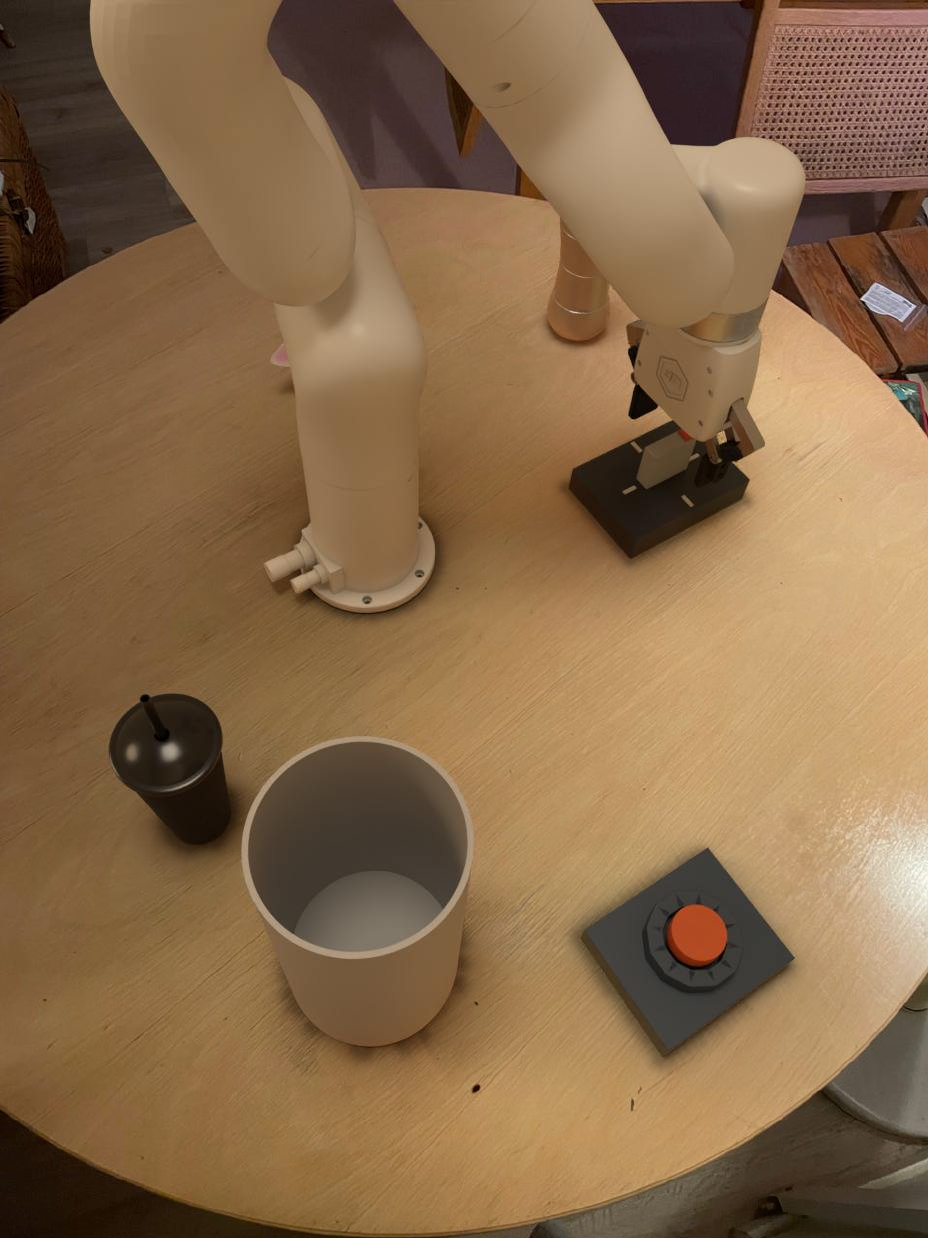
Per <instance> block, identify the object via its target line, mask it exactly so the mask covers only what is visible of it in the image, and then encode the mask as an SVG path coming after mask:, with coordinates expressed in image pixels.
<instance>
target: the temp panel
mask: <svg viewBox="0 0 928 1238" xmlns="http://www.w3.org/2000/svg"><path fill="white" fill-rule="evenodd" d="M681 429H682V428H681V427H679V426H678V425H677V424H676V423H675V422H674V421H673V420H672V419H671V420H670V421H667V422H665V423H663V424H661V425H659V426H656V427H655V428H653V429H651V430H649V431H647V432H645V433H643V434H640V435H638V436H637V437H635V438H633V439H630V440H628V441H626V442H624V443H623V444H620V445H618V446H617V447H614V448H612V449H610V450H608V451H605V452H604V453H602V454H600V455H598V456H596V457H593V458H592V459H590V460H588V461H586V462H584V463H582V464H580V465H577V466H575V467H573V468H572V470H571V474H570V480H569V485H568V490H569V491H570V492H571V493H572V494H573V496H575V498H576V499H577V500H578V501H579V502H580V503H581V505H582V506H583V507H584V508H585V509H586V511H587V512H588V513H589V514H590V515H591V516H592V517H593V518H594V519H595V521H596V522H597V523H598V524H599V525H600V526H601V527H602V528H603V530H604V531H605V532H606V533H607V535H609V537H610V538H611V539H613V541H614V542H615V543H616V545H618V547H619V549H621V550H622V552H624V554H625V555H626V556H627V557H628V558H629V559H630V560H631V559H633V558H635V557H637V556H639V555H641V554H643V553H644V552H646V551H648V550H650V549H652V548H654V547H656V546H658V545H659V544H661V543H664V542H665V541H667V540H669V539H671V538H672V537H674V536H676V535H678V534H680V533H682V532H683V531H685V530H687V529H690V528H691V527H693V526H694V525H697V524H698V523H700V522H702V521H704V520H706V519H708V518H710V517H712V516H713V515H715V514H718V513H719V512H720V511H722V510H725V509H726V508H728V507H730V506H733V505H734V504H736V503H738V502H740V501H741V500H742V499H743V498H744V495H745V493H746V490H747V488H748V486H749V483H750V481H751V479H750V478H749V477H748V476H747V475H746V474H745V473H744V472H743V471H742V470H741V469H740V468H739V467H738V466H737V465H736V464H735V463H734V462H730V464H729V467H728V470H727V473H726V475H725V476H724V478H723V479H721V480H720V481H718V482H716V483H714V484H713V483H712V482H710V483H709V484H707V485H705V486H703V487H701V488H697V487H696V486H695V484H694V483H695V482H694V480H695V477H696V474H697V471H698V468H699V465H700V461H701V458H702V456H703V455H705V454H707V453H708V452H707V448H706V444H705V441H704V442H701V441H698V440H696V443H695V446H694V448H693V451H692V454H691V457H690V460H689V463H688V466H687V469H685V470H683V471H681V472H680V473H678V474H676V475H674V476H672V477H670V478H668V479H666V480H664V481H662V482H660V483H658V484H656V485H654V486H652V487H650V488H648V489H645V488H644V486H643V485H642V484H641V483H640V482H639V481H638V480H637V479H636V478H637V474H638V471H639V467H640V464H641V460H642V456H643V453H644V449H645V447H647V446H649V445H651V444H653V443H655V442H657V441H659V440H661V439H663V438H665V437H667V436H669V435H671V434H673V433H675V432H677V431H679V430H681Z"/></svg>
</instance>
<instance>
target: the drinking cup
mask: <svg viewBox="0 0 928 1238" xmlns="http://www.w3.org/2000/svg"><path fill="white" fill-rule="evenodd" d="M223 744H224V734H223V728H222V726H221V722H220V720H219V718H218V716H217V714H216V713H215V712H214V711H213V709H212V708H211V707H210V706H209V705H208V704H207V703H205V702H203V701H202V700H200V699H199V698H196V697H194V696H190V695H188V694H184V693H177V692H176V693H174V692H172V693H161V694H157V695H153V696H150V695H149V694H147V693H144V694H141V695H140V696H139V702H137V703H136V704H135V705H133V706H132V707H130V708H129V709H128V710H126V712H125V713H124V714H123V715H122V716H121V718H119V720H118V721H117V723H116V724H115V726H114V728H113V731H112V732H111V735H110V739H109V743H108V759H109V763H110V767H111V768H112V771H113V773H114V774H115V776H116V778H117V779H118V780H119V782H121V783H122V785H124V786H125V787H127V788H129V789H130V790H132V791H133V792H135V793H136V794H137V795H138V796H139V797H140V799H141V800H142V801H143V802H144V803H145V804H146V805H147V806H148V807H149V808H150V809H151V810H152V812H153V813H154V814H155V815H156V816H157V817H158V818H159V819H160V820H161V822H162V823H163V824H164V825H165V826H166V827H167V829H169V830H170V832H171V833H172V834H173V835H174V836H175V837H176V838H177V839H178V840H180V841H181V842H183V843H185V844H189V845H204V844H208V843H211V842H212V841H214V840H216V839H217V838H218V837H220V836H222V834H223V833H224V832H225V830H226V829H227V827H228V825H229V823H230V820H231V815H232V810H231V804H230V797H229V789H228V784H227V778H226V777H227V776H226V772H225V765H224V758H223Z"/></svg>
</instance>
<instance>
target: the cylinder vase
mask: <svg viewBox="0 0 928 1238" xmlns="http://www.w3.org/2000/svg"><path fill="white" fill-rule="evenodd" d="M473 825H474V824H473V820H472V815H471V812H470V809H469V807H468V804H467V802H466V800H465V798H464V795H463V794H462V791H461V790H460V788H459V787H458V785H457V783H456V782H455V781H454V779H453V778H452V777H451V776H450V774H449V773H448V772H447V771H446V769H444V768H443V767H442V766H441V765H440V764H439V763H437V762H436V760H434V759H433V758H431V756H429V755H427V754H425V753H424V752H423V751H421V750H419V749H417V748H415V747H413V746H411V745H408V744H406V743H403V742H401V741H397V740H394V739H391V738H385V737H379V736H370V735H355V736H345V737H339V738H334V739H330V740H327V741H324V742H321V743H317V744H316V745H313V746H311V747H308V748H306V749H304V750H303V751H301V752H299V753H297V754H296V755H294V756H293V757H291V758H290V759H289V760H287V761H286V762H284V763H283V765H281V766H280V767H279V768H278V769H276V771H275V772H274V773H273V774H272V775H271V776H270V777H269V778H268V779H267V781H266V782H265V783H264V784H263V786H262V787H261V789H260V790H259V792H258V793H257V795H256V797H255V799H254V801H252V804H251V806H250V808H249V811H248V813H247V816H246V819H245V822H244V828H243V830H242V831H243V832H242V837H241V851H240V853H241V865H242V872H243V877H244V880H245V884H246V887H247V890H248V892H249V895H250V896H251V899H252V901H253V904H254V906H255V908H256V911H257V913H258V915H259V917H260V920H261V922H262V925H263V927H264V930H265V932H266V934H267V936H268V939H269V941H270V943H271V945H272V948H273V950H274V952H275V955H276V957H277V959H278V962H279V964H280V966H281V969H282V971H283V974H284V976H285V978H286V980H287V982H288V985H289V988H290V990H291V992H292V995H293V996H294V999H295V1001H296V1003H297V1005H298V1007H299V1008H300V1010H301V1011H302V1013H303V1014H304V1015H305V1017H306V1018H307V1019H308V1020H309V1021H310V1022H311V1024H312V1025H314V1026H315V1028H317V1029H318V1030H320V1031H321V1032H323V1033H324V1034H326V1035H328V1036H329V1037H331V1038H332V1039H335V1040H337V1041H339V1042H342V1043H345V1044H348V1045H353V1046H359V1047H380V1046H381V1047H382V1046H387V1045H391V1044H394V1043H398V1042H400V1041H403V1040H406V1039H408V1038H409V1037H411V1036H413V1035H415V1034H417V1033H418V1032H419V1031H421V1030H422V1029H423V1028H425V1027H426V1026H428V1024H429V1023H430V1022H431V1021H433V1020H434V1018H435V1017H436V1016H437V1015H438V1014H439V1012H440V1011H441V1010H442V1008H443V1007H444V1005H445V1004H446V1002H447V1001H448V999H449V997H450V994H451V992H452V989H453V987H454V983H455V980H456V977H457V972H458V966H459V958H460V952H461V946H462V945H461V943H462V937H463V930H464V923H465V916H466V909H467V904H468V903H467V902H468V896H469V888H470V881H471V874H472V867H473V862H474V861H473V860H474V852H475V835H474V827H473Z"/></svg>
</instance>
